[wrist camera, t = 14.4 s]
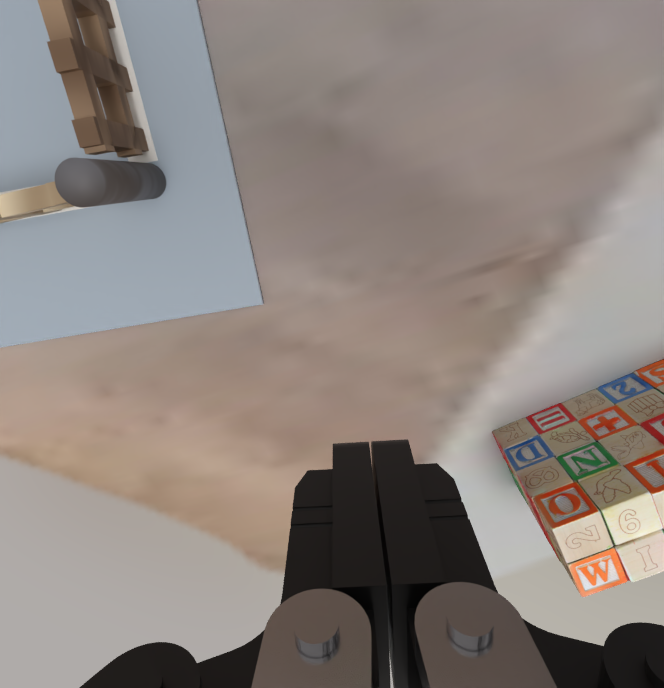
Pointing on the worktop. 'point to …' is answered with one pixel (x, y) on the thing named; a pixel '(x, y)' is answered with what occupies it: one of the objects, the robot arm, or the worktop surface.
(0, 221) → the hinged fence panel
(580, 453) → the stack of blocks
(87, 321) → the card
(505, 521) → the worktop surface
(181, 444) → the worktop surface
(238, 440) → the worktop surface
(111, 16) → the fixed fence
